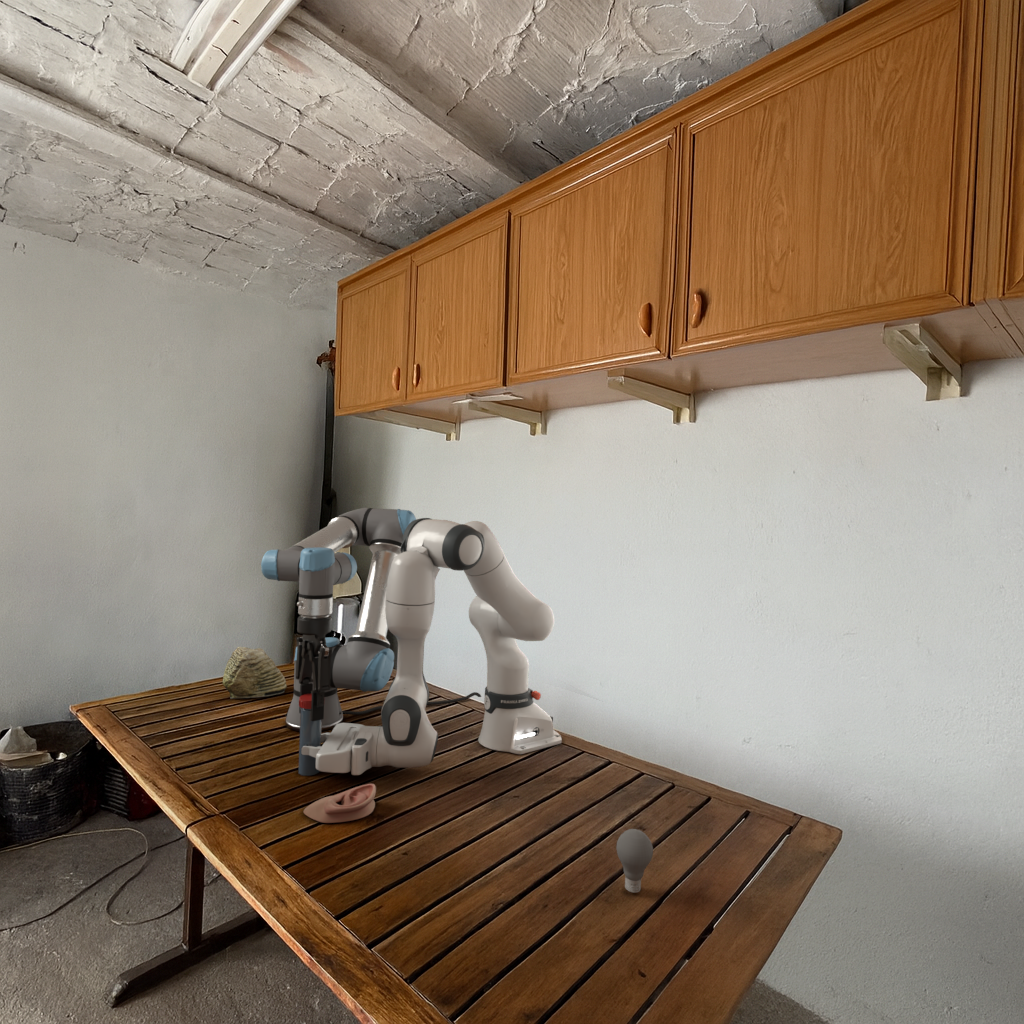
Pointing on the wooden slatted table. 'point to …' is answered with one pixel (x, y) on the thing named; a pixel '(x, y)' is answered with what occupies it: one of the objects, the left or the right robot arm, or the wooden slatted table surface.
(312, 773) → the blue grey capped cylinder
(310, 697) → the lid
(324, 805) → the anatomical model
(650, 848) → the light bulb
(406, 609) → the right robot arm
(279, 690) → the fossil
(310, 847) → the wooden slatted table surface
